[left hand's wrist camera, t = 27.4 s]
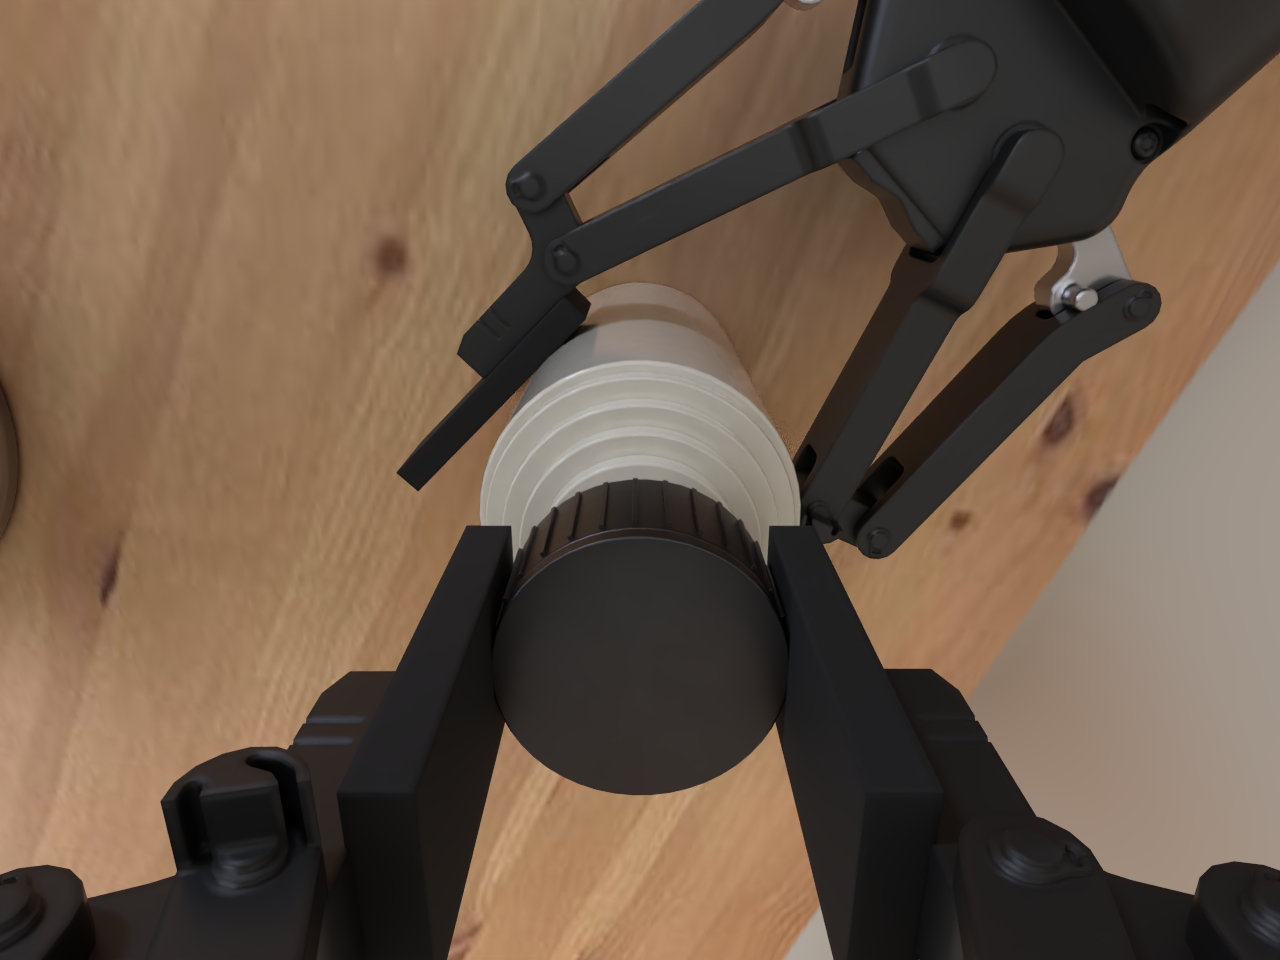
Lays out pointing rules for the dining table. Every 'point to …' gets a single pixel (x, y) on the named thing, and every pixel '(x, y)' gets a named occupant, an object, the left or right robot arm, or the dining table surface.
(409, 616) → the dining table surface
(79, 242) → the dining table surface
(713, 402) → the bottle
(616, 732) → the cap
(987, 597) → the dining table surface
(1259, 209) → the dining table surface
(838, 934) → the left robot arm
